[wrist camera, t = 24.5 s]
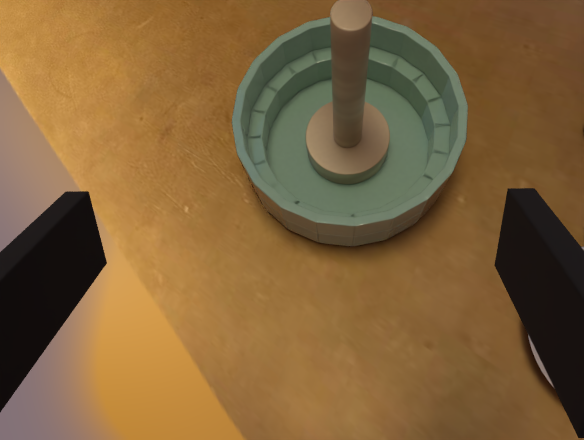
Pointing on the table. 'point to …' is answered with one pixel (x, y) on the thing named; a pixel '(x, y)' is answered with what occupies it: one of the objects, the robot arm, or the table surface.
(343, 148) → the stick
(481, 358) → the table surface
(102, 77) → the table surface
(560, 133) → the table surface
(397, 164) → the bowl
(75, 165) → the table surface
